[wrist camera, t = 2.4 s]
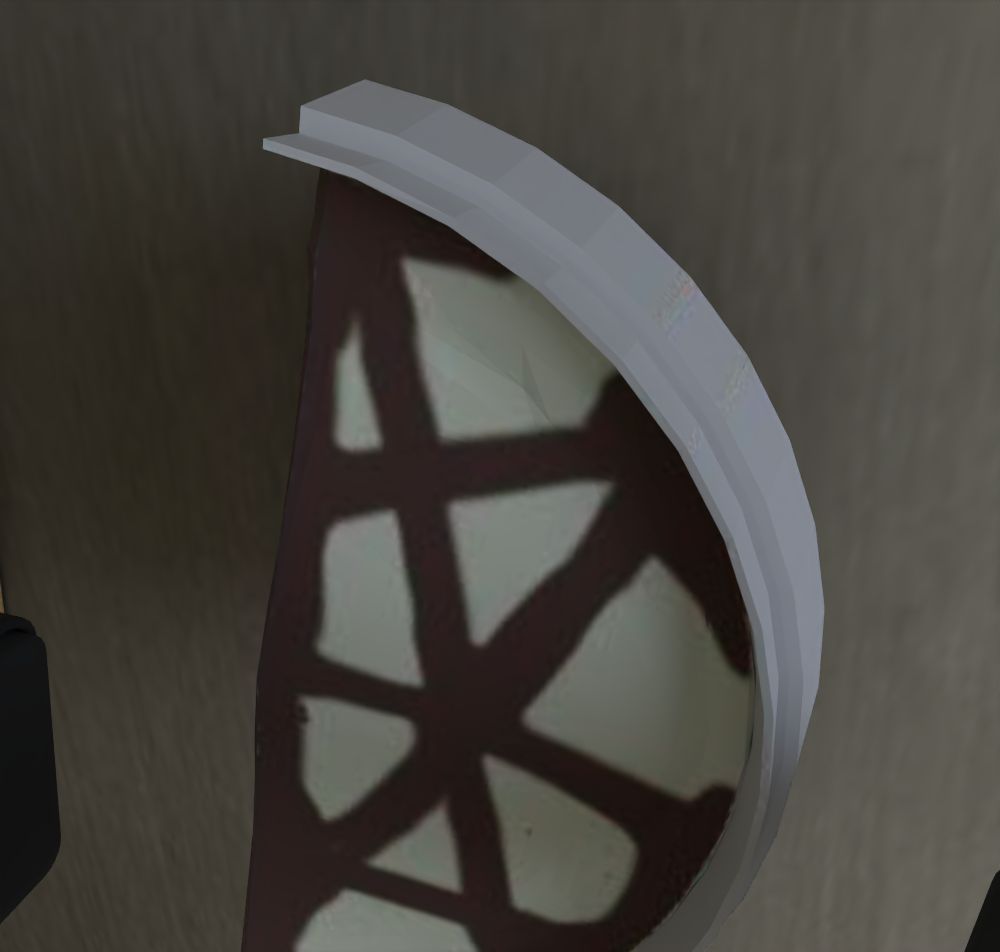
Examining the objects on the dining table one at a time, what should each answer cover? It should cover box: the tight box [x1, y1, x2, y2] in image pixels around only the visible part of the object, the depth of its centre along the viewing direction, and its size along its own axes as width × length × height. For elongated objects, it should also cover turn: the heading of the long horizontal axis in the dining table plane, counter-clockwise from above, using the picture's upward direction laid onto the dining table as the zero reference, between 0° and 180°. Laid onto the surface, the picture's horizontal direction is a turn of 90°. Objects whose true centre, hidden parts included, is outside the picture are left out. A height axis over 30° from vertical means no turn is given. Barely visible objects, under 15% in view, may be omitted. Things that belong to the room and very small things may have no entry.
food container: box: [241, 80, 824, 952], centre depth 14 cm, size 12×6×10 cm, turn 169°
